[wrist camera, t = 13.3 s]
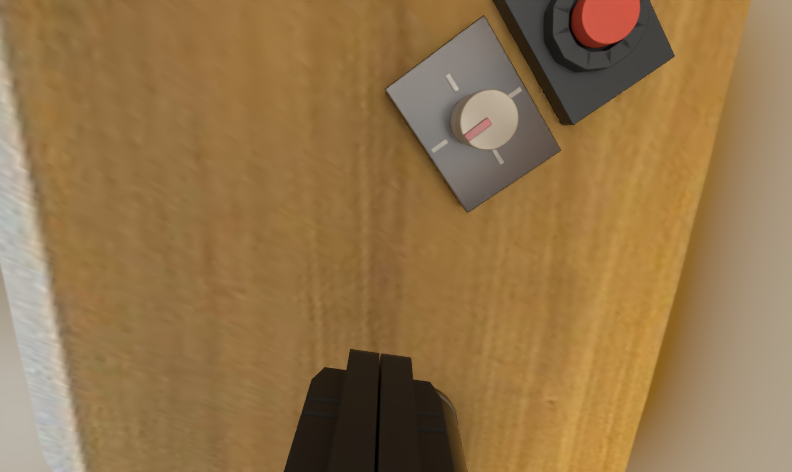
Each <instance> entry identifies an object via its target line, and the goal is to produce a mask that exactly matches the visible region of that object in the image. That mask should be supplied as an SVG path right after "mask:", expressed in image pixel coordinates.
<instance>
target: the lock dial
mask: <svg viewBox="0 0 792 472" xmlns="http://www.w3.org/2000/svg"><path fill="white" fill-rule="evenodd" d="M450 124H451V129H452V132H453V134H454V136H455V137H456V138H457V139H458V140H459V141H460V142H461V143H463V144H465V145H467V146H470V147H474V148H477V149H480V150H494V149H497V148H500V147H502V146H503V145H505V144H506V143H507V142H508V141H509V140H510V139H511V138H512V136H513V135H514V133H515V131H516V129H517V125H518V111H517V107H516V105H515V103H514V101H513V100H512V99H511V98H510V97H509V96H508V95H507V94H506V93H504V92H502V91H499V90H495V89H487V90H482V91H479V92H476V93H473V94H470V95H468V96H466V97H464V98H462V99H461V100H460V101H459V102H458V103H457V104H456V105H455V107H454V109H453V111H452V114H451V120H450Z"/></svg>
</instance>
